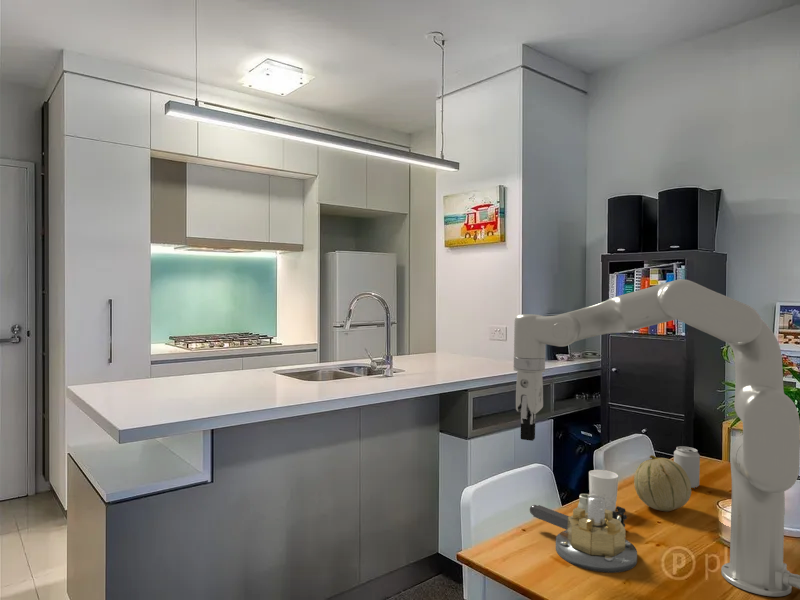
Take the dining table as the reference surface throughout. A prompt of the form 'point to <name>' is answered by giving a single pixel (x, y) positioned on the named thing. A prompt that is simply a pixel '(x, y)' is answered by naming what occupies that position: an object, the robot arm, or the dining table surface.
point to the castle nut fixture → (586, 530)
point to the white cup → (604, 486)
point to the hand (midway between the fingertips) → (527, 439)
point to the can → (689, 463)
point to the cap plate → (596, 562)
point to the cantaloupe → (662, 484)
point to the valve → (584, 505)
